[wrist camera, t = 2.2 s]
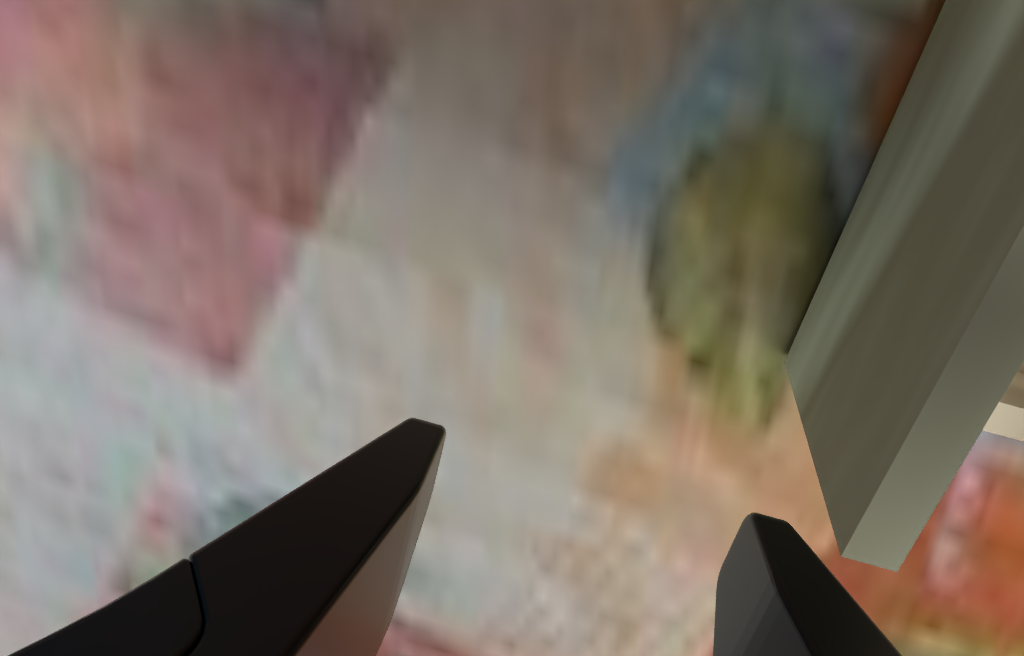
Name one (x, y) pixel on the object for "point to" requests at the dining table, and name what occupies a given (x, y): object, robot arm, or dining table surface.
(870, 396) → the drawer
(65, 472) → the dining table surface
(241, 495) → the dining table surface
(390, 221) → the dining table surface
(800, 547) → the robot arm
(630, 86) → the dining table surface
